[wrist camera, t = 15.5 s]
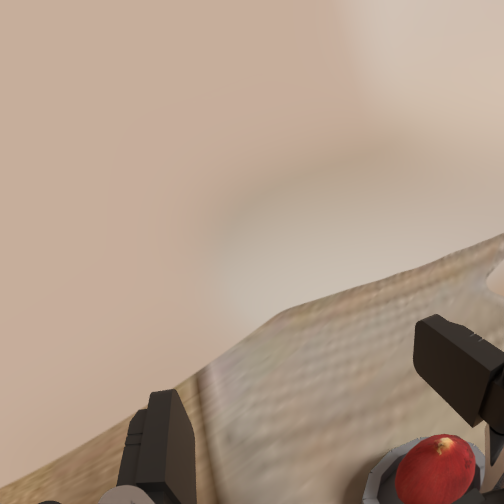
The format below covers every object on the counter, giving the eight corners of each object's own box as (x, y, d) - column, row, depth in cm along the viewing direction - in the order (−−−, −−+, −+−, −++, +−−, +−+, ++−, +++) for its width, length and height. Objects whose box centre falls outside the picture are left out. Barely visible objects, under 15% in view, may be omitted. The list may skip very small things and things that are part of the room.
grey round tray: (436, 572, 8) (446, 564, 8) (333, 515, 17) (332, 503, 16) (503, 470, 14) (513, 454, 13) (411, 437, 22) (413, 420, 22)
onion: (432, 458, 18) (447, 393, 17) (475, 493, 13) (507, 430, 11) (377, 496, 17) (383, 439, 15) (418, 540, 12) (443, 493, 10)
